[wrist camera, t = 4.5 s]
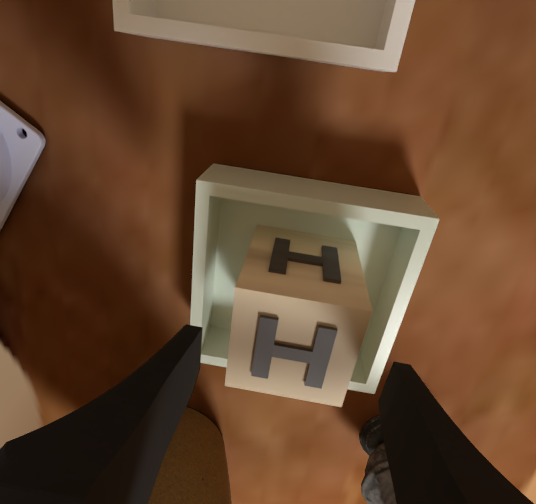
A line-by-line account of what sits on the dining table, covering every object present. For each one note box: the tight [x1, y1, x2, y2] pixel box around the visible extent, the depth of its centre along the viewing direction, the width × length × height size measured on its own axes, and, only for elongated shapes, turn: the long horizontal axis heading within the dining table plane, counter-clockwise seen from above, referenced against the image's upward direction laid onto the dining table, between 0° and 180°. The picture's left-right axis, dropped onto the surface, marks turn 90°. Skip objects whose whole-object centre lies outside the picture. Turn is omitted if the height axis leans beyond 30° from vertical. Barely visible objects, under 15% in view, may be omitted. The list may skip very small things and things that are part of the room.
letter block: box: [225, 225, 372, 407], centre depth 17 cm, size 5×5×6 cm
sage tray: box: [190, 163, 440, 394], centre depth 19 cm, size 10×10×3 cm
